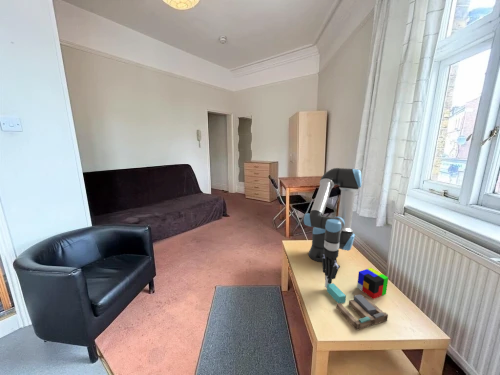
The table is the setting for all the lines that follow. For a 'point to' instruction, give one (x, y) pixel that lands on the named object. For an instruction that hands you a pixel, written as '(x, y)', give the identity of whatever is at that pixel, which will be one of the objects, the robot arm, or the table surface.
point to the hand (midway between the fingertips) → (327, 287)
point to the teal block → (336, 293)
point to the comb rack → (362, 315)
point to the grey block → (365, 304)
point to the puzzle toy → (372, 283)
